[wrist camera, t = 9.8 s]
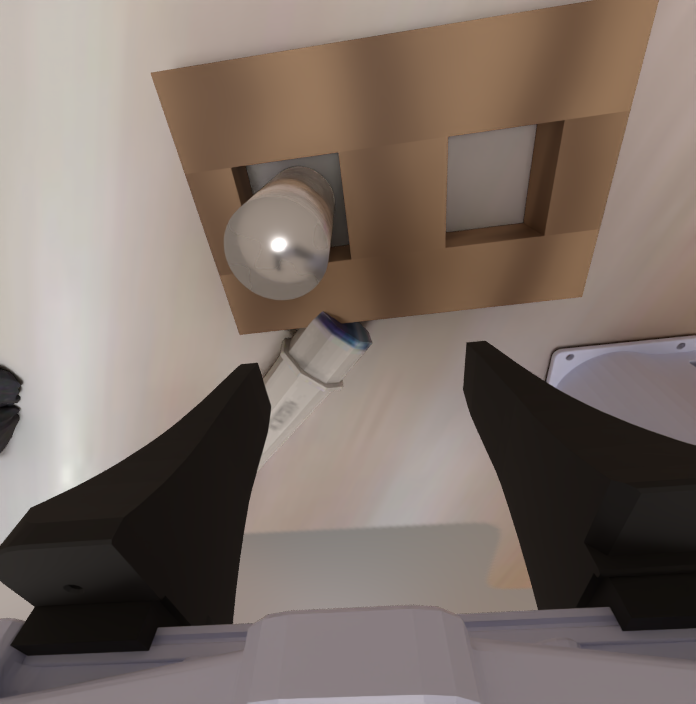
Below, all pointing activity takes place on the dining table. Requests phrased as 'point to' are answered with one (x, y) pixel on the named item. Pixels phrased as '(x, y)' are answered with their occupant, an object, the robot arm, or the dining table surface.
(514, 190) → the dining table surface
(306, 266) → the steel pin
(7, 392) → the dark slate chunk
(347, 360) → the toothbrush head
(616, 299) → the dining table surface
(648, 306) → the dining table surface
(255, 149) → the wooden holder tray
